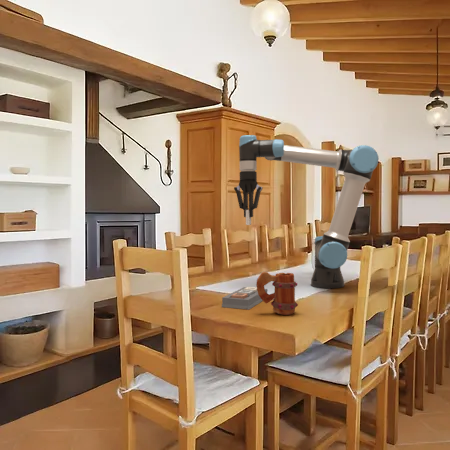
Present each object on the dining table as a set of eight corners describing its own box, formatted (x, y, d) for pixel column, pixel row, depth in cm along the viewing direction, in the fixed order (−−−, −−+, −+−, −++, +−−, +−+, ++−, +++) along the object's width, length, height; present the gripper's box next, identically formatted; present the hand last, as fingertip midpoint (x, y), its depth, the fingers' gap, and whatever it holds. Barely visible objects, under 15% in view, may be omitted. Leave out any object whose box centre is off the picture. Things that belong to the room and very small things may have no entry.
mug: (295, 310, 166) (295, 269, 166) (300, 316, 158) (300, 273, 157) (255, 311, 166) (255, 270, 165) (257, 316, 158) (257, 273, 157)
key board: (267, 297, 189) (267, 288, 188) (248, 309, 168) (248, 299, 168) (243, 295, 193) (243, 287, 193) (221, 307, 173) (221, 297, 173)
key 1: (259, 293, 188) (259, 287, 188) (255, 296, 183) (255, 289, 183) (248, 292, 190) (248, 286, 190) (244, 295, 185) (243, 288, 185)
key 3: (247, 300, 176) (247, 293, 176) (243, 302, 172) (243, 295, 171) (236, 299, 178) (236, 292, 178) (231, 301, 174) (231, 294, 173)
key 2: (253, 296, 182) (253, 290, 182) (249, 299, 178) (249, 292, 177) (242, 295, 184) (242, 289, 184) (237, 298, 179) (237, 291, 179)
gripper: (264, 171, 202) (265, 224, 203) (237, 172, 207) (238, 224, 208) (259, 170, 195) (259, 225, 196) (231, 171, 200) (231, 225, 201)
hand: (248, 224), depth 202 cm, fingers closed
